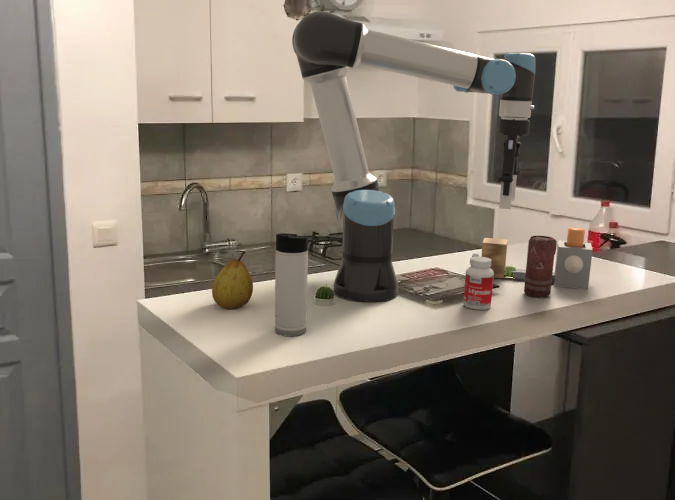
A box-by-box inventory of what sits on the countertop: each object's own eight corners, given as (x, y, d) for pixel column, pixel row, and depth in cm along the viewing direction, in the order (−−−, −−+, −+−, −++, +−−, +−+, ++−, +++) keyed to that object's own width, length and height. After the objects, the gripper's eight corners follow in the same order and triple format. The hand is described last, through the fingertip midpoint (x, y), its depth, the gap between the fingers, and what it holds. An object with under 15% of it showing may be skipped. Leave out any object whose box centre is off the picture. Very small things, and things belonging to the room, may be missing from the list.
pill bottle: (464, 309, 161) (467, 261, 159) (462, 301, 167) (465, 254, 165) (492, 311, 161) (496, 263, 158) (489, 303, 167) (493, 256, 164)
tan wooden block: (479, 276, 188) (482, 242, 186) (481, 270, 194) (484, 237, 191) (503, 278, 186) (506, 244, 184) (504, 272, 192) (507, 239, 190)
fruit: (207, 310, 156) (206, 256, 153) (219, 298, 164) (219, 246, 161) (246, 313, 154) (246, 258, 152) (257, 301, 163) (257, 248, 160)
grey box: (554, 286, 182) (558, 247, 180) (554, 277, 190) (557, 240, 187) (588, 289, 180) (592, 250, 178) (586, 280, 188) (590, 243, 185)
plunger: (565, 255, 182) (568, 230, 180) (565, 252, 186) (567, 227, 184) (582, 257, 181) (585, 231, 179) (581, 253, 185) (584, 228, 183)
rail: (470, 274, 190) (471, 256, 189) (471, 272, 193) (473, 253, 192) (554, 283, 185) (556, 264, 184) (554, 280, 188) (556, 261, 186)
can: (552, 299, 171) (558, 241, 168) (524, 297, 172) (529, 239, 169) (550, 292, 177) (556, 235, 173) (523, 290, 178) (528, 234, 175)
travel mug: (267, 332, 144) (267, 233, 139) (287, 323, 149) (289, 227, 144) (292, 339, 140) (294, 238, 136) (312, 330, 146) (314, 232, 141)
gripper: (527, 122, 166) (519, 213, 171) (532, 116, 189) (525, 197, 194) (494, 120, 168) (486, 211, 173) (503, 115, 191) (496, 195, 196)
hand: (507, 204), depth 184 cm, fingers open, 13 cm apart
